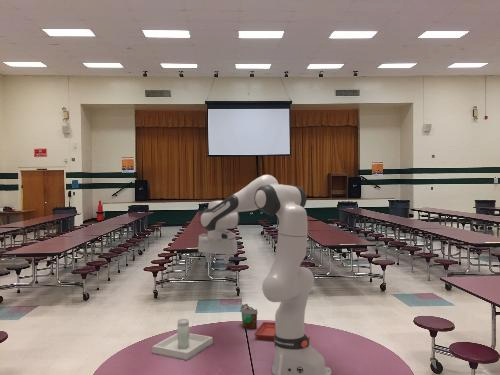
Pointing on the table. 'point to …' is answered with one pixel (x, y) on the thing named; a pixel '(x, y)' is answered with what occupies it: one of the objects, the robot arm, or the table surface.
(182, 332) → the cylinder
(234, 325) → the table surface
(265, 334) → the plant saucer
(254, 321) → the food container
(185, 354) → the tray
